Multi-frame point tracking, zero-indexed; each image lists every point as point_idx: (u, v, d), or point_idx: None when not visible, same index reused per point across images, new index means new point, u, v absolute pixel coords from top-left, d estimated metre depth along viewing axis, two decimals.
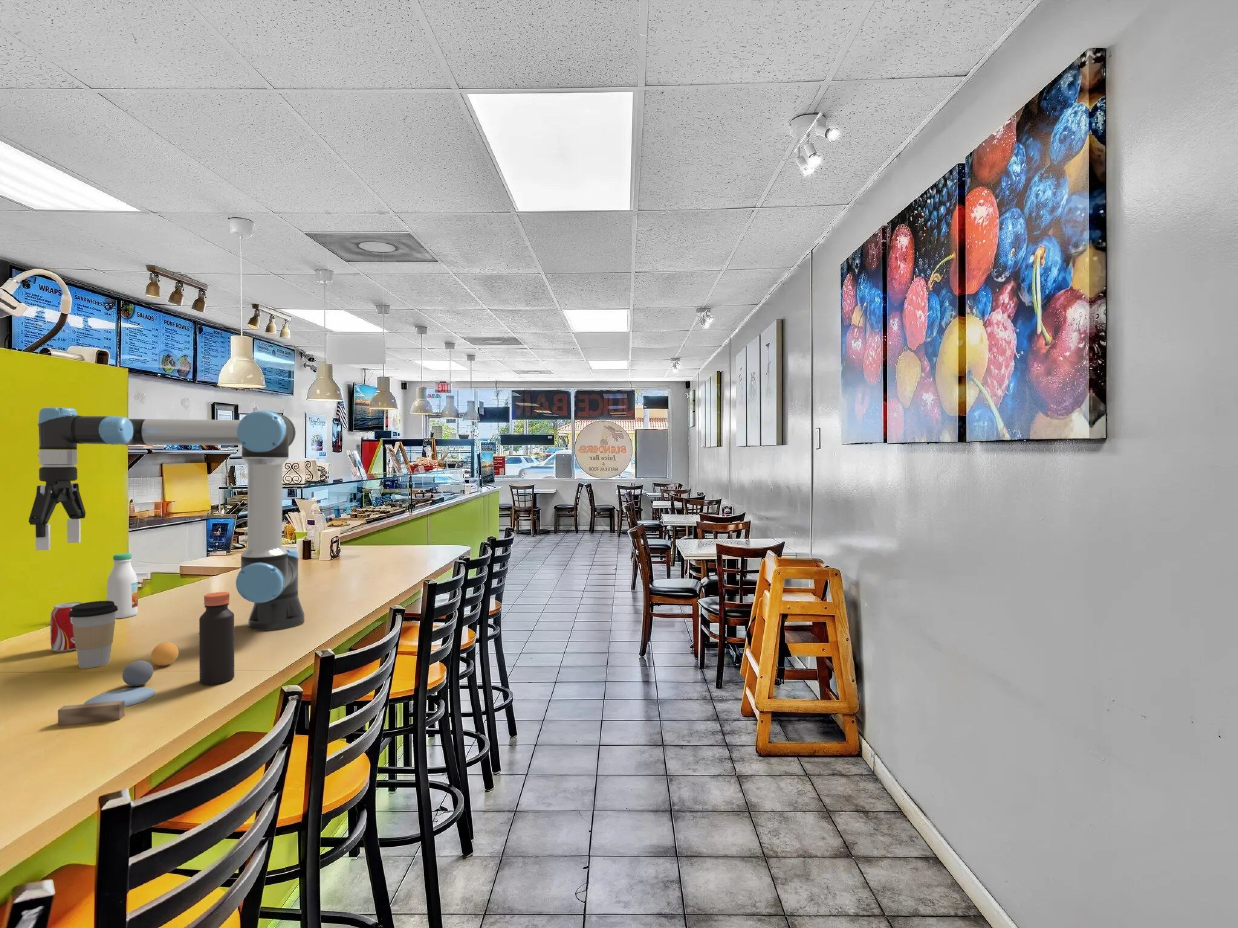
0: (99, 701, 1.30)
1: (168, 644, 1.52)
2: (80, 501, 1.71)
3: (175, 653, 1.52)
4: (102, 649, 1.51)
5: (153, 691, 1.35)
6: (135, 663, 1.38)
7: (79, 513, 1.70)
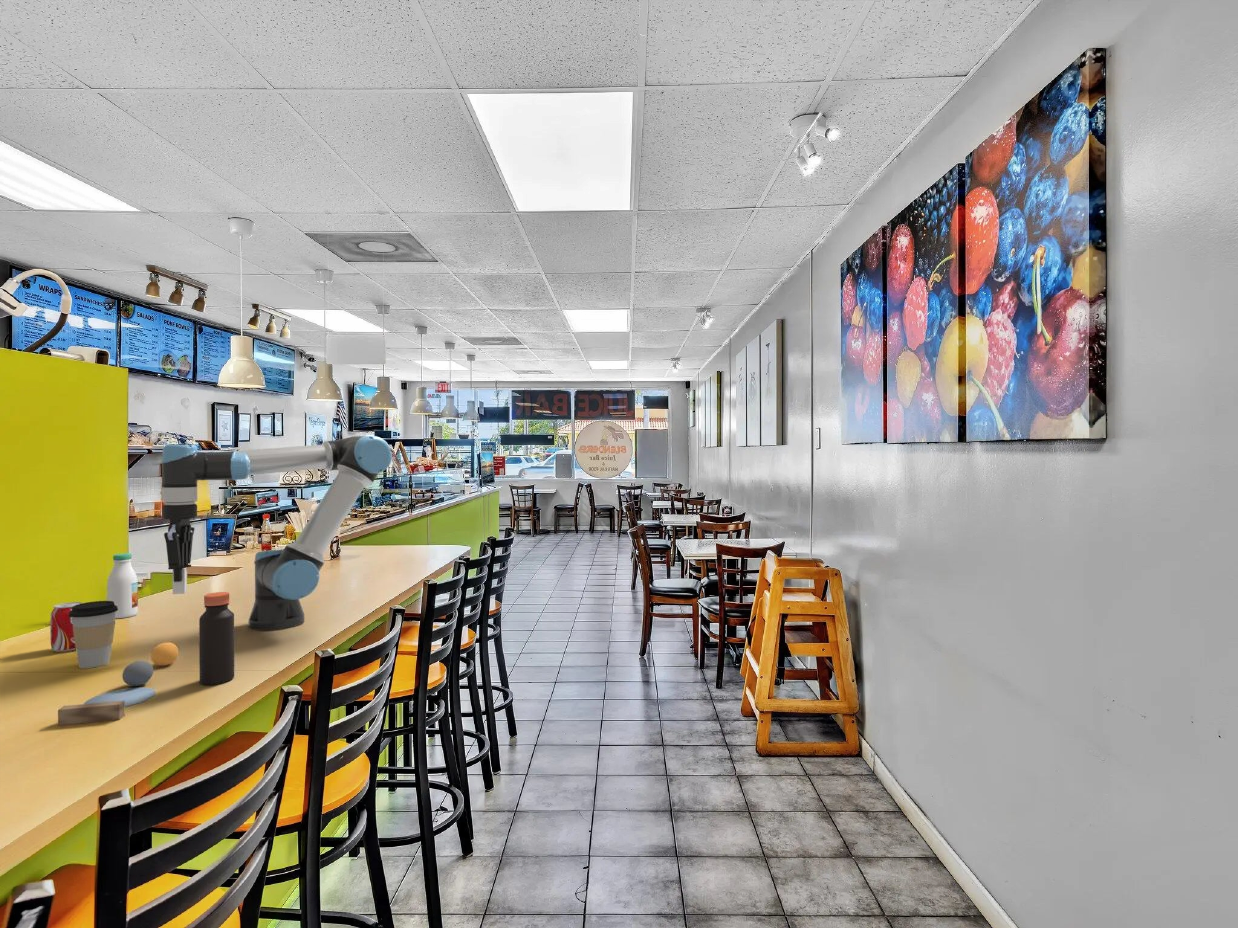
0: (99, 701, 1.30)
1: (168, 644, 1.52)
2: (190, 546, 1.65)
3: (175, 653, 1.52)
4: (102, 649, 1.51)
5: (153, 691, 1.35)
6: (135, 663, 1.38)
7: (187, 560, 1.63)
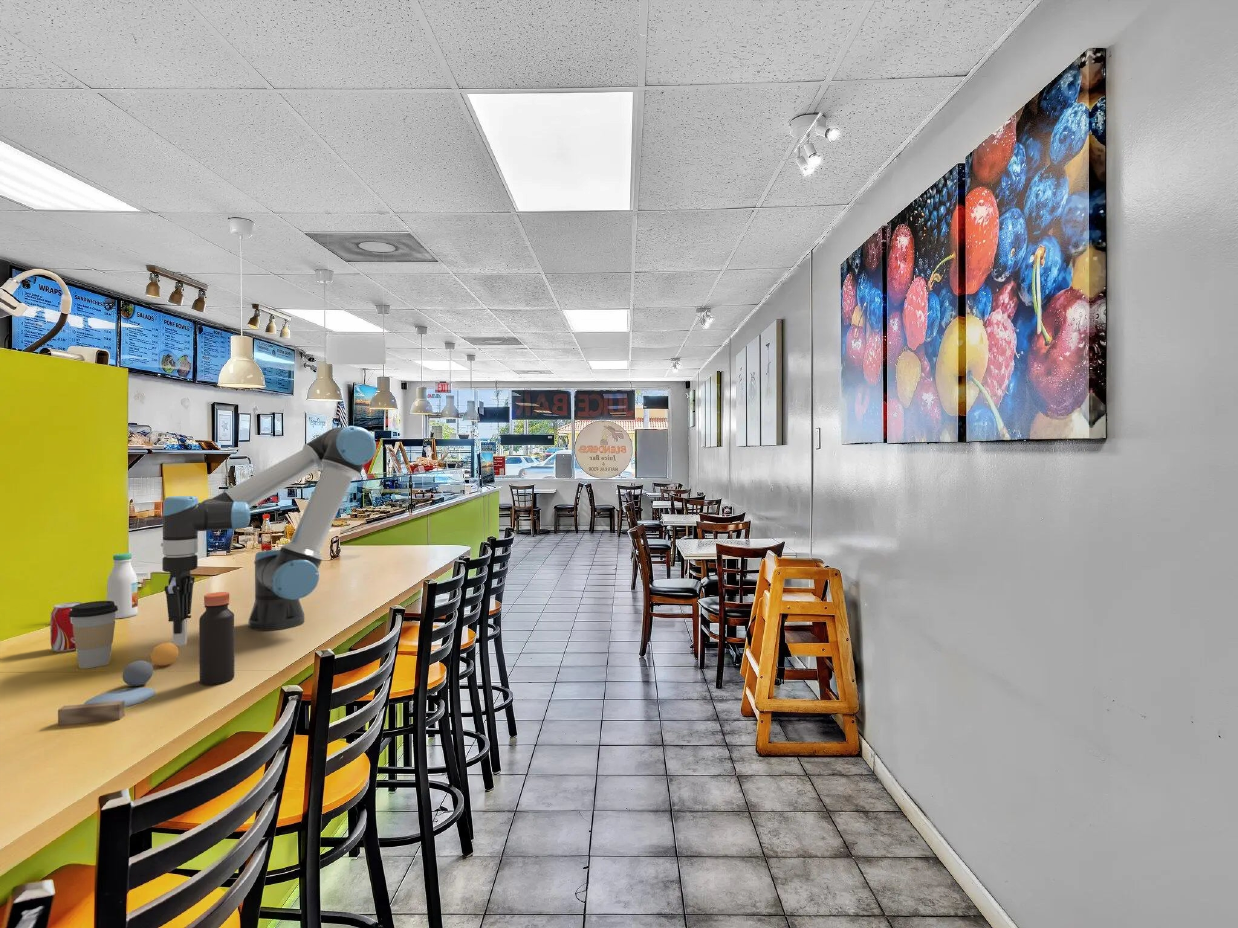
0: (99, 701, 1.30)
1: (168, 644, 1.52)
2: (190, 596, 1.65)
3: (175, 653, 1.52)
4: (102, 649, 1.51)
5: (153, 691, 1.35)
6: (135, 663, 1.38)
7: (187, 611, 1.63)
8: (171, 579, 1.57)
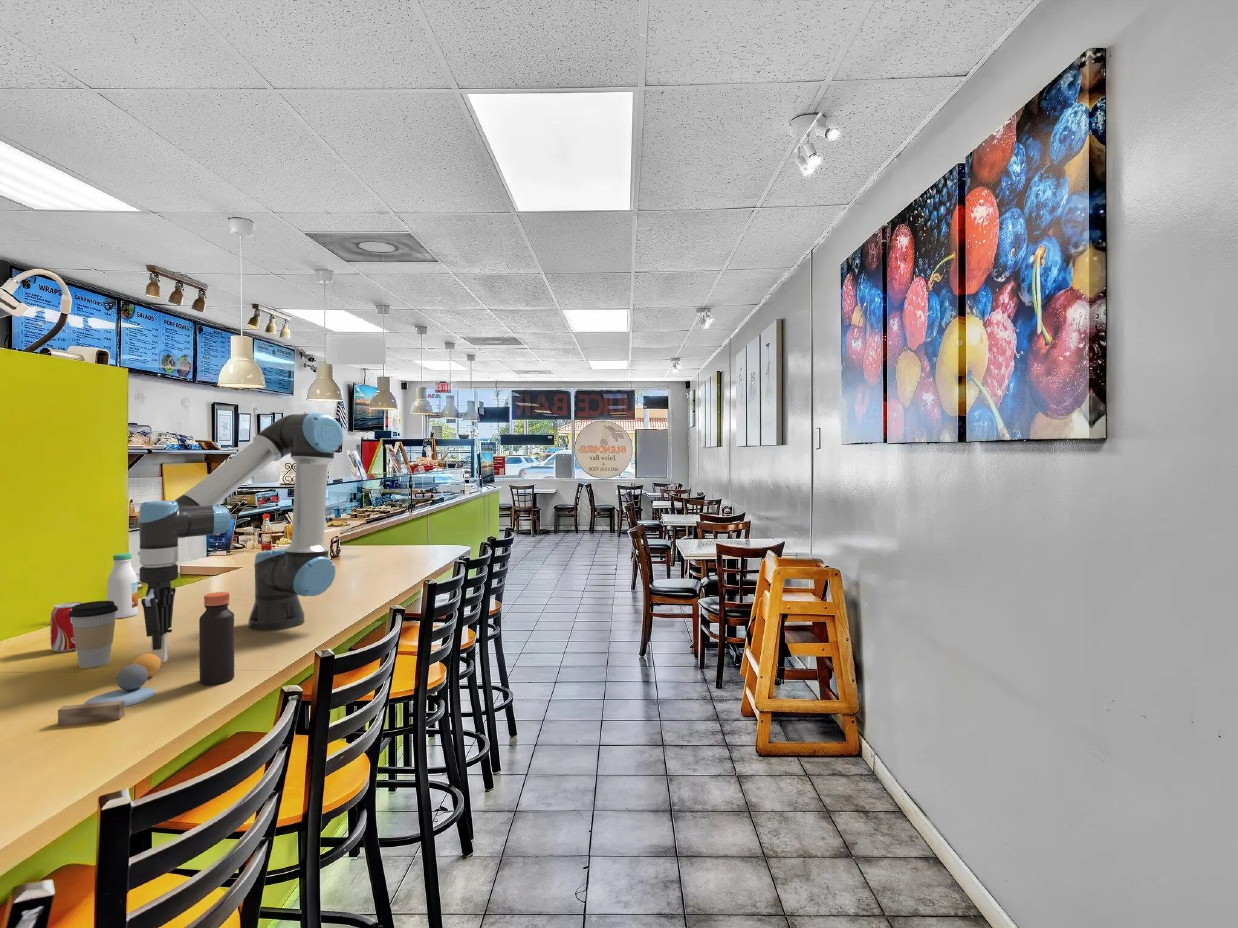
0: (99, 701, 1.30)
1: (151, 675, 1.45)
2: (171, 609, 1.54)
3: (160, 664, 1.46)
4: (102, 649, 1.51)
5: (153, 691, 1.35)
6: (126, 678, 1.34)
7: (167, 625, 1.51)
8: (149, 591, 1.45)
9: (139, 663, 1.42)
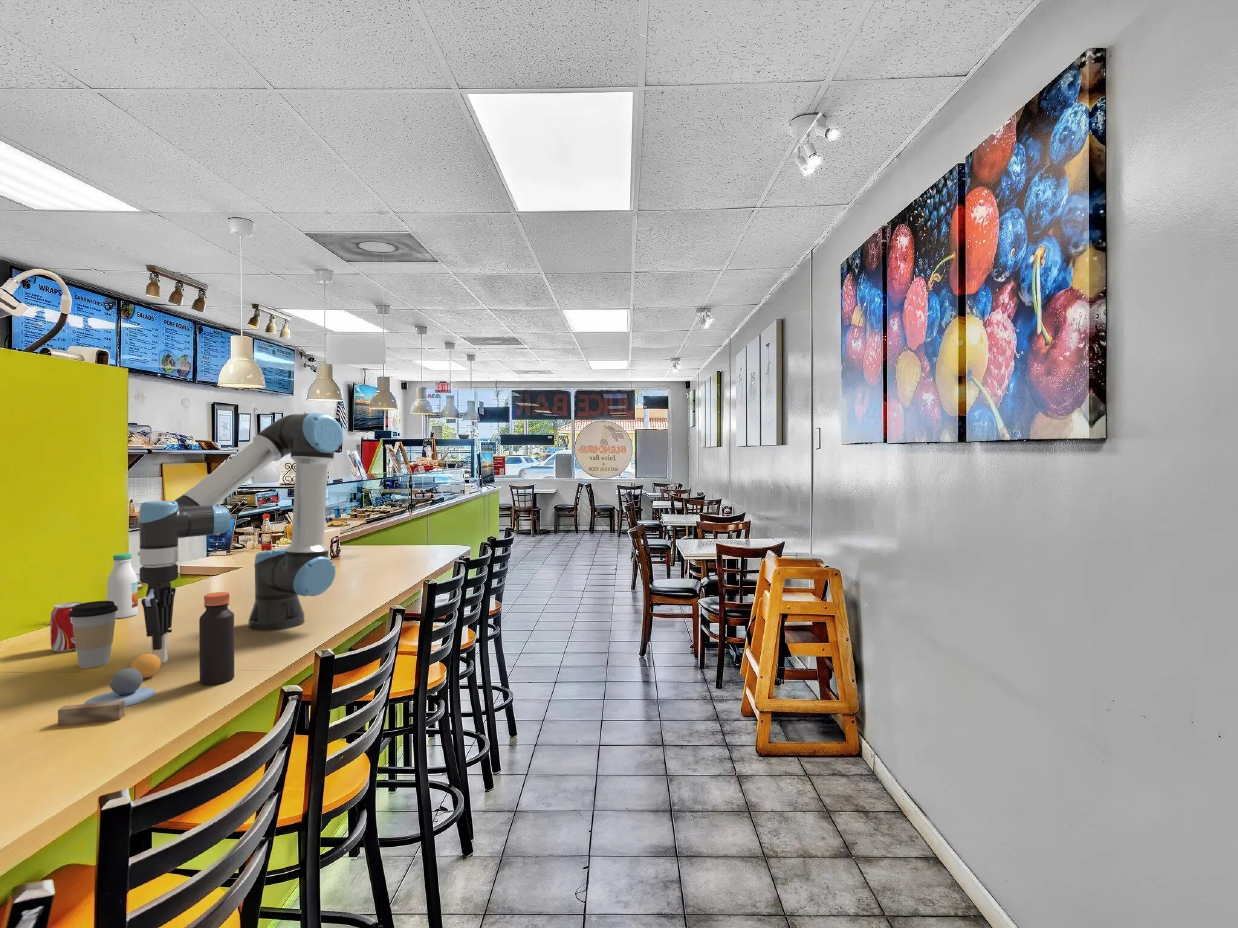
0: (99, 701, 1.30)
1: (151, 675, 1.45)
2: (171, 609, 1.54)
3: (160, 664, 1.46)
4: (102, 649, 1.51)
5: (153, 691, 1.35)
6: (121, 692, 1.32)
7: (167, 625, 1.51)
8: (149, 591, 1.45)
9: (139, 663, 1.42)
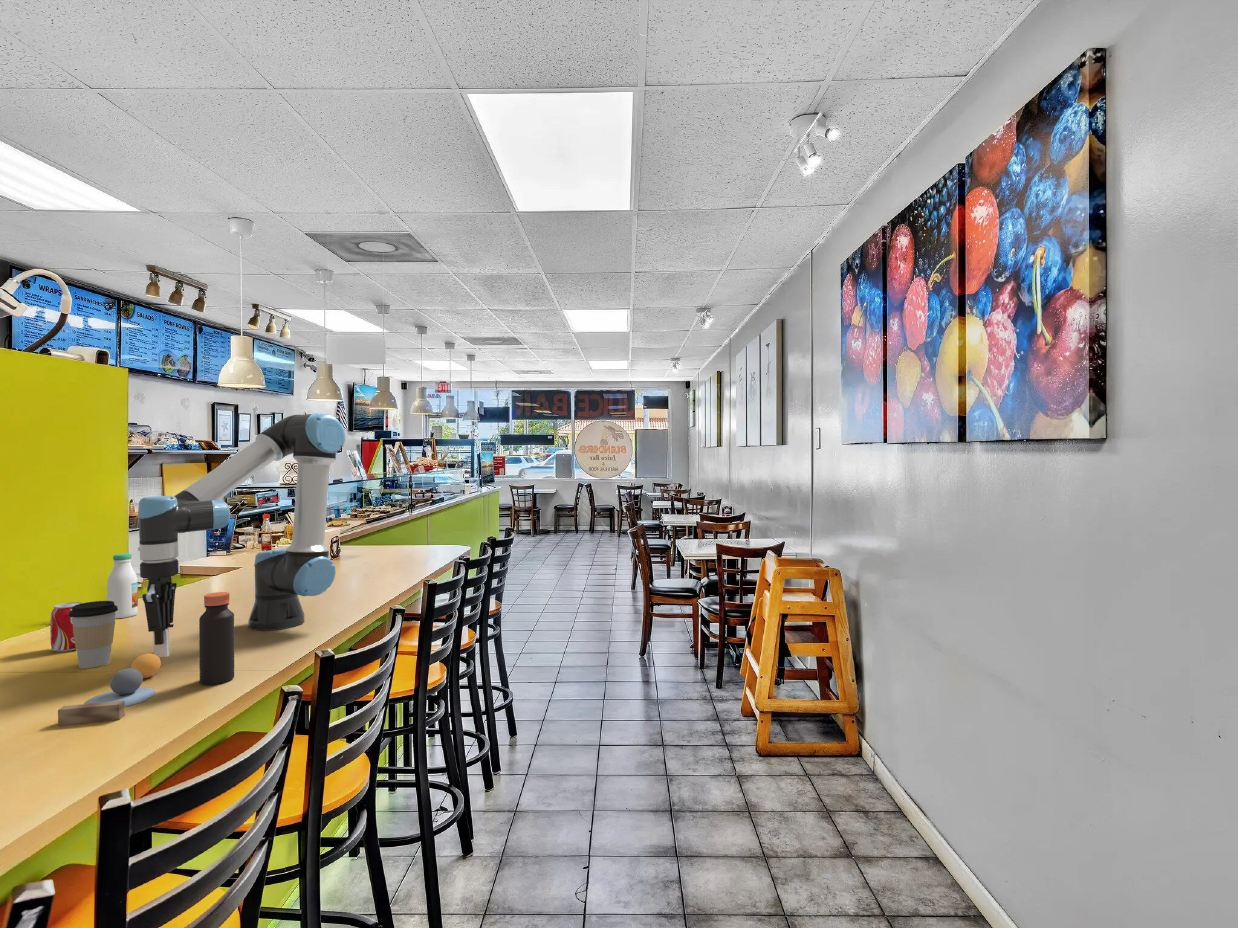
0: (99, 701, 1.30)
1: (151, 675, 1.45)
2: (172, 604, 1.54)
3: (160, 664, 1.46)
4: (102, 649, 1.51)
5: (153, 691, 1.35)
6: (121, 692, 1.32)
7: (169, 620, 1.52)
8: (150, 586, 1.46)
9: (139, 663, 1.42)
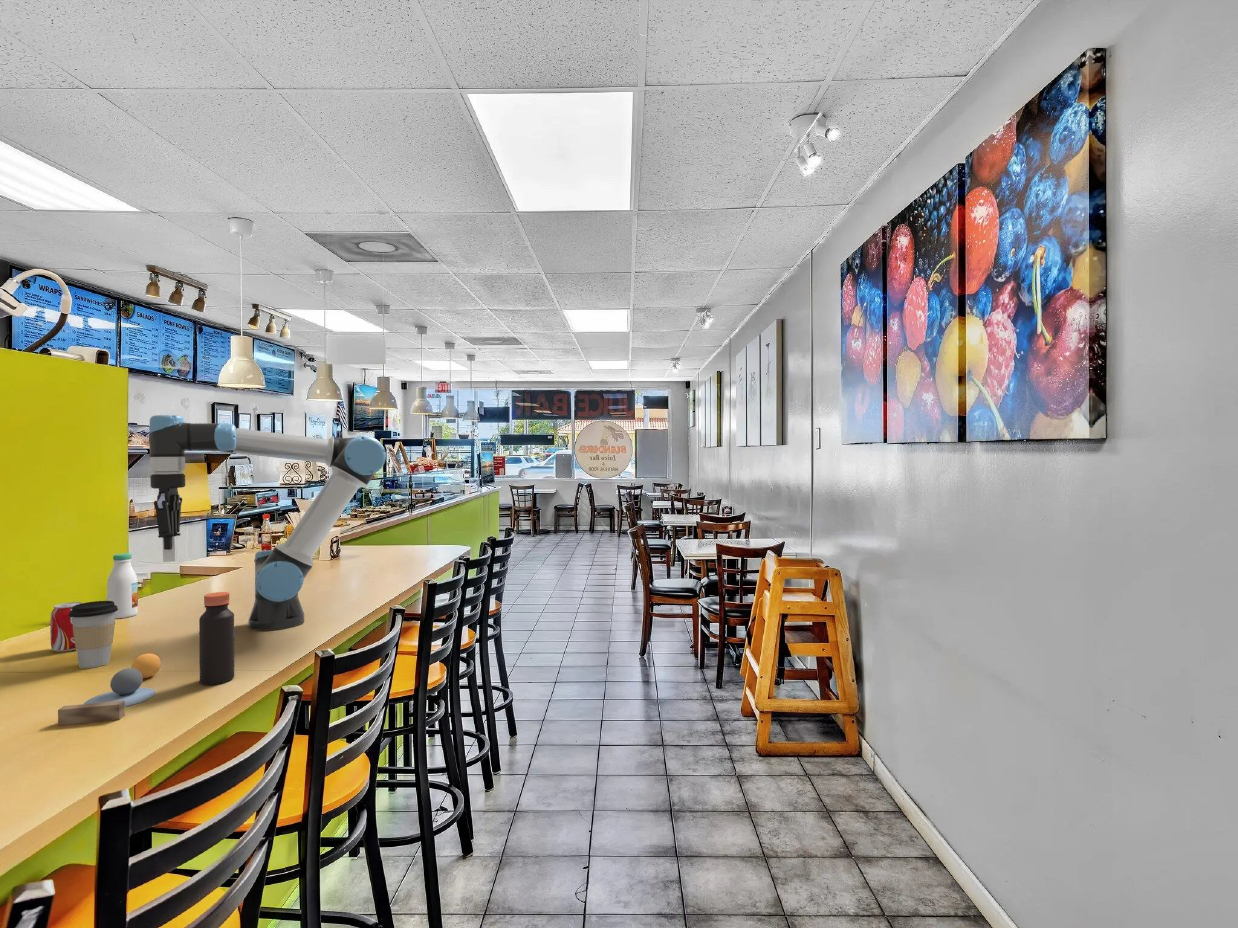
0: (99, 701, 1.30)
1: (151, 675, 1.45)
2: (179, 515, 1.69)
3: (160, 664, 1.46)
4: (102, 649, 1.51)
5: (153, 691, 1.35)
6: (121, 692, 1.32)
7: (176, 529, 1.66)
8: (160, 495, 1.61)
9: (139, 663, 1.42)
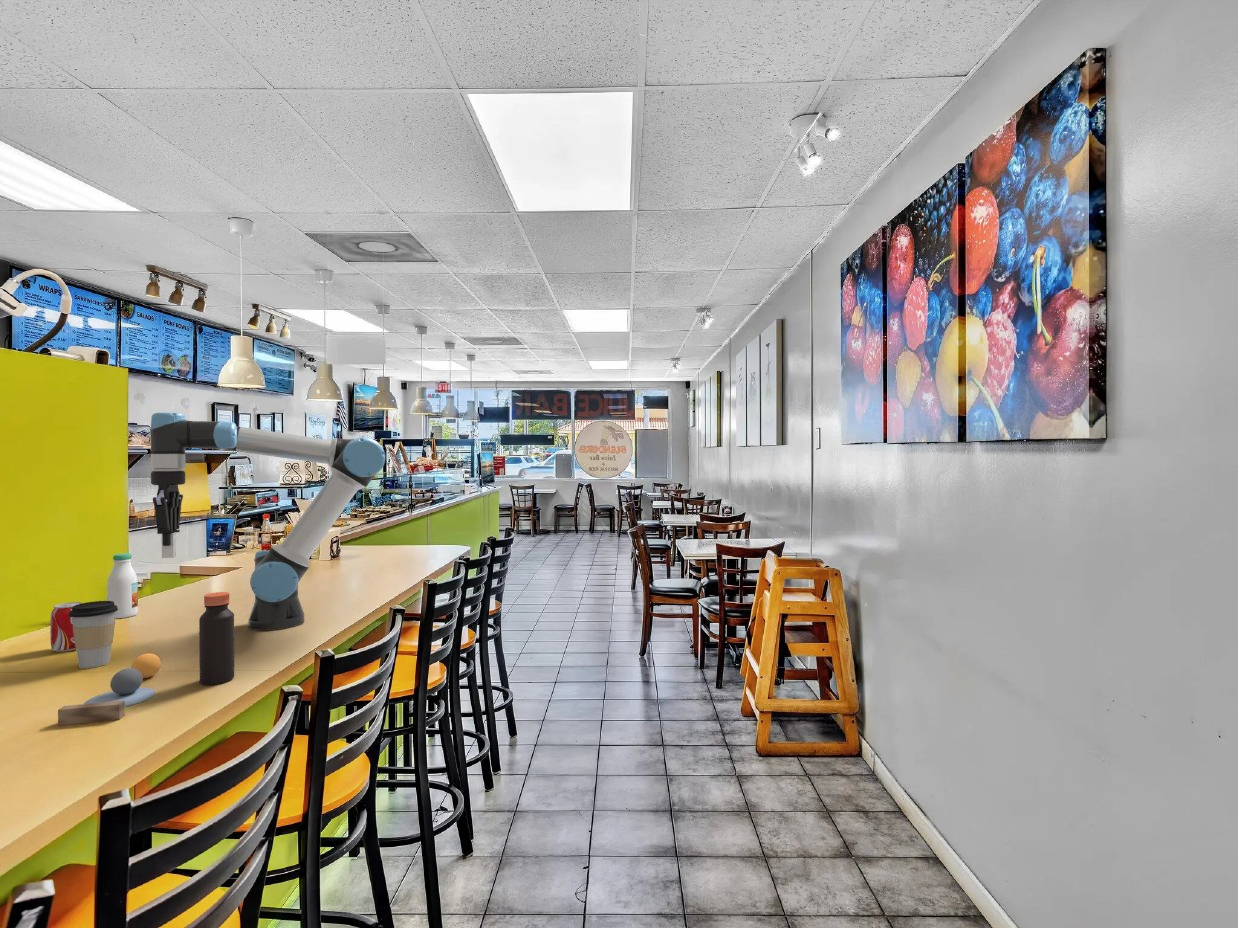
0: (99, 701, 1.30)
1: (151, 675, 1.45)
2: (179, 512, 1.70)
3: (160, 664, 1.46)
4: (102, 649, 1.51)
5: (153, 691, 1.35)
6: (121, 692, 1.32)
7: (175, 526, 1.68)
8: (159, 491, 1.62)
9: (139, 663, 1.42)
